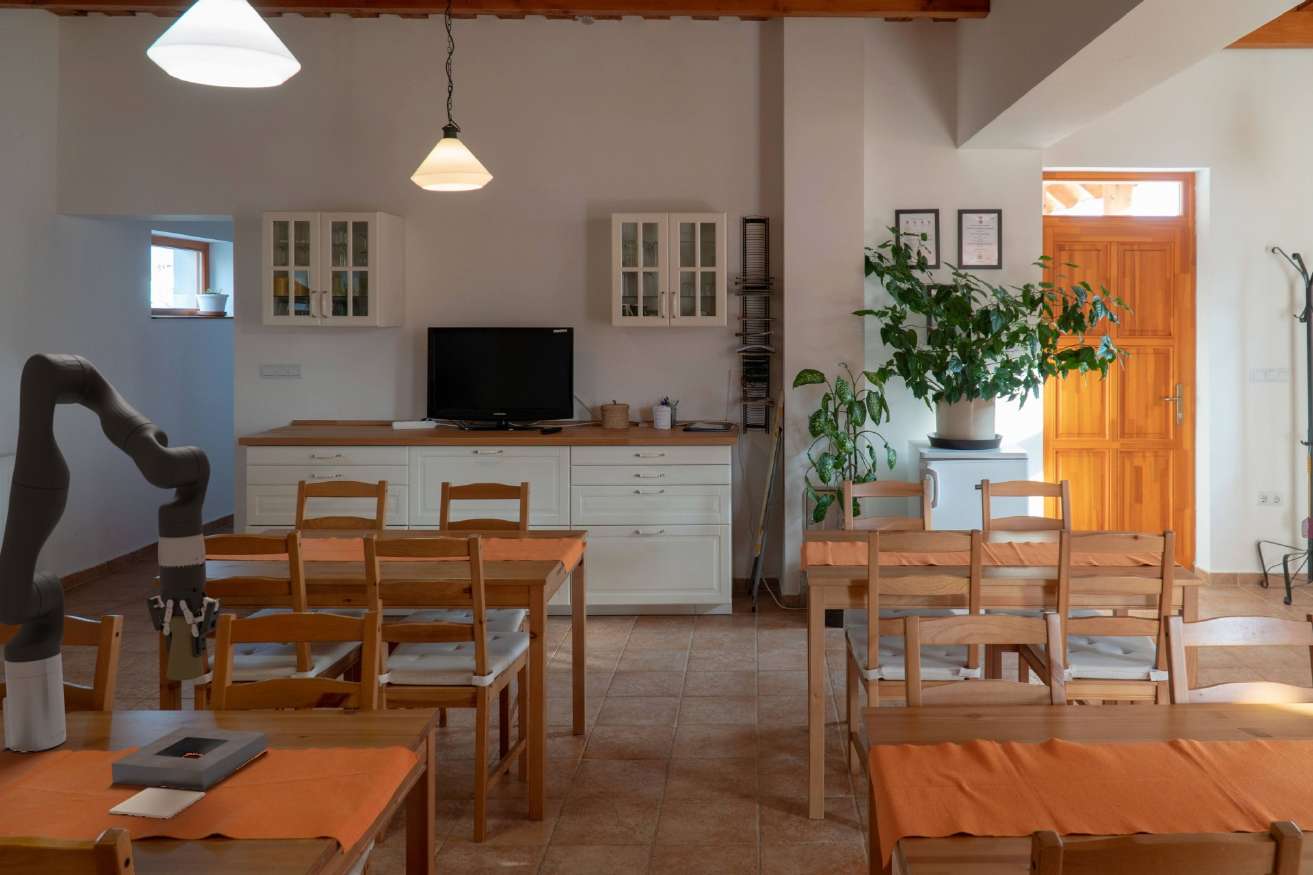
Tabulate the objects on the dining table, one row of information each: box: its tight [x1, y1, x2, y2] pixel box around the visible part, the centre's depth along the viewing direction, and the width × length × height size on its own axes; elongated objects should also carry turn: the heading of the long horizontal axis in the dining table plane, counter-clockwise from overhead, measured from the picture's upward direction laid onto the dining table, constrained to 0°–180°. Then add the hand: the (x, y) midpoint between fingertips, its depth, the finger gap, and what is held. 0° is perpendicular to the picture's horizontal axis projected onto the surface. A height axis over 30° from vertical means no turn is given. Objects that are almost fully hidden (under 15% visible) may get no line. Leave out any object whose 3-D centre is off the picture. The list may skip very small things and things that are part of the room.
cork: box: [166, 615, 205, 681], centre depth 182 cm, size 6×6×11 cm
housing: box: [111, 726, 268, 791], centre depth 184 cm, size 18×18×4 cm
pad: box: [108, 787, 206, 820], centre depth 168 cm, size 11×9×1 cm
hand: (186, 655), depth 182 cm, fingers closed on cork, 4 cm apart
